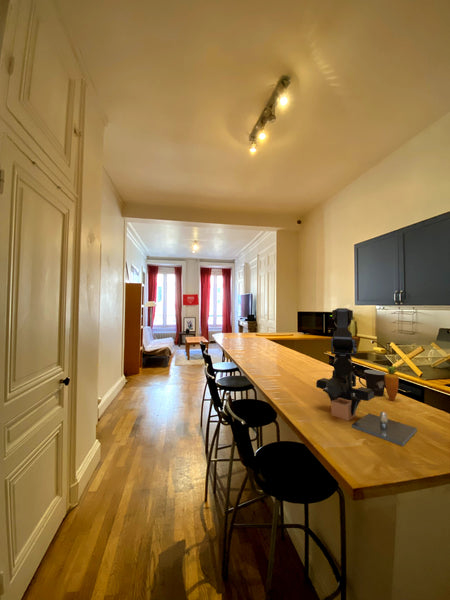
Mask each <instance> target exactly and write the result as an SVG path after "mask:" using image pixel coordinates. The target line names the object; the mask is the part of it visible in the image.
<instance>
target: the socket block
mask: <svg viewBox="0 0 450 600" xmlns="http://www.w3.org/2000/svg"><path fill="white" fill-rule="evenodd" d="M351 402H352V401H350V400H346V399H343V398H337V399H335V400H333V401H331V400H330V404H331V405H330V406H331V416H333V417H336V418H339V419H342V420H344V421H347V422H348V421H350V420H352V419H353V418H355V417H356V416H357V414H356V413H357V412H356V411H357V410H356V411H355V413H354V415H351Z"/></svg>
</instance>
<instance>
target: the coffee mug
mask: <svg viewBox="0 0 450 600" xmlns="http://www.w3.org/2000/svg"><path fill="white" fill-rule="evenodd" d="M363 373H364V374H362V375H359V377H358V381H359V383H360V384H361V385H362V387H364V388H368V389H372V390H373V392H374V397H377V398H378V397H384V396H385V395H384V393H385V389H386V387H385V374H387V373H386V372H385V371H383V370H382V371H380V370H376V369H374V370H373V369H365V370H364V372H363ZM363 377H364V378H365V384H364V383H362V381H361V378H363Z"/></svg>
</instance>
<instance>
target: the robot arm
mask: <svg viewBox="0 0 450 600" xmlns="http://www.w3.org/2000/svg"><path fill="white" fill-rule="evenodd" d="M331 313H332V314H331V316H332V320H333V321H334V325H335V327H336V330H334V332H333V337H330V338H331V342H330V343H331V344H330V345H331V346H330V348H331V349H330V353H331V355H334V362H333V370H332V376H331V377H330V378H325V377H323V378H320V379H317V380H316V384H315V387H316V388H317V389H321V390H322V391H323V392H325V394H327V396H328V397H329V400H330V402H331V401H333V400H335V399H337V398H343V399H346V400H350V401H352V402H351V415H354V413H355V411H357V408H358V406H359V404H360V403H361V401H366V402H368V401H370V400H372V399H374V398H375V396H374V392H373V390H372V389H368V388H366V387H365V386H360V387H358V388H355V387H356V386H357V375H355V372H354V371H353V368H354V367H353V363H352V360H353V359H352V357H355V356H356V354H357V350H358V349H357V341H356V339H355V338H353V334H352V333H353V332H351V331H350V330H349V327H350V326H351V324H352V320H354V311H353V309H349V308H346V307H342V308H340V307H339V308H335V309H333V310H332V312H331Z"/></svg>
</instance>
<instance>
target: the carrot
mask: <svg viewBox="0 0 450 600" xmlns="http://www.w3.org/2000/svg"><path fill="white" fill-rule="evenodd" d="M385 368H386V369H387V372H388V373H386V374H385V390H386V394H387V395H388V396H387V397H388V398H389V400H390V401H391V402H393V401H395V399H396V397H397V395H398V391H399V376H398V375H397V374H395V373H396V372H397V370H396V369H397V366H396V365H393V366H390V367H389V366H387V365H385Z"/></svg>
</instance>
